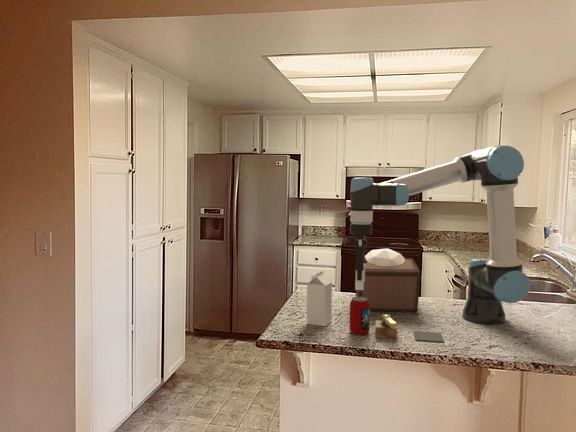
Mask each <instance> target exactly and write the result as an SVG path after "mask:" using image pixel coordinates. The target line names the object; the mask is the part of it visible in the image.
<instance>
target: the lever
mask: <svg viewBox="0 0 576 432" xmlns="http://www.w3.org/2000/svg"><path fill="white" fill-rule="evenodd" d="M381 321H382V322H384V323H386V324H387V325H388V326H389V327H390V328H396V324H397V321H395V320H394V319H392V318H391V314H387V313H386V314H385V313H383V314H381ZM394 321H395V322H394Z"/></svg>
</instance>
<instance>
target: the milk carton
mask: <svg viewBox="0 0 576 432" xmlns="http://www.w3.org/2000/svg"><path fill="white" fill-rule="evenodd" d="M310 279H311V280H310V281H309V282H307V284H306V285H307V286H306V325H312V326H318V327H319V326H320V327H326V326H328V325H329V324H330V323H332V311H333V310H332V306H333V304H332V300H333V298H332V297H333V295H332V293H333V290H332V288H333V282H332V280H330V278H329V277H327V275H325V273H324V270H320V271H319V272H317V273H315V274H314V275H312V276H311V277H310Z"/></svg>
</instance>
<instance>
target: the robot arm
mask: <svg viewBox="0 0 576 432" xmlns="http://www.w3.org/2000/svg"><path fill="white" fill-rule="evenodd" d="M524 166H525V161H524V157H523V155H522V154H521V152H520V151H519V150H518V149H517V148H515V147H514V146H511V145H500V144H499V145H496V146H495V145H494V146H490V147H482V148H478V149H476V150H474V151H472V152H470V153H466V154H464V155H461V156H459V157H455V158H454V159H453V161H451V162H450V161H449V162H446V163H445V164H441V165H437V166H434V167H430V168H427V169H424V170H420V171H417V172H414V173H410V174H407V175H403V176H400V177H397V178H394V179H390V180H387V181H383V182H380V183H379V182H377V183H374V179H373V177H354V178H352V179H351V181H350V191H349V192H350V202H349V203H350V204H349V205H350V208H349V210H350V212H349V213H348V214H347V215H348V216H349V217H350V219H349V220H350V222H351V223H350V224H349V234H350V235H352V236H356V238H357V239H354V249H355V250H354V252H355V253H356V254H355V266H354V267H353V271H355V278H354V279H355V281H354V282H355V283H354V286H355V287H354V290H355V291H356V290H364V282H365V264H364V263H367V260H365V255H366V250H367V245H368V242H367V241H368V240H367V239H366V236H372V234H373V224H372V223H373V220H374V219H373V218H374V217H373V215H374V214H373V213H374V206H375V207H377V206H379V207H380V206H385V207H400V206H401V207H402V206H405V205H407V203H408V202H409V197H410V196H412V195H417V194H420V193H423V192H426V191H430V190H434V189H437V188H441V187H443V186H444V187H445V186H448V185H450V184H453V183H454V184H455V183H458V182H459V183H461V184H464V183H467V182H470V181H471V182H473V181H480V186H481V188H482V189H484V190H485V191H486V192H485V193H486V206H487V207H486V208H487V209H486V210H487V225H488V227H487V228H488V243H489V245H488V246H489V257H490V258H479V259H478V258H473V259H470V261H469V262H468V283H467V284H468V285H467V291H468V292H467V299H466V300H465V303H464V305H463V309H462V318H464V319H465V320H467V321H469V322H473V323H478V324H486V325H498V324H499V325H500V324H504V323H505V322H506V312H505V310H504V307H503V303H502V302H504V303H507V304H515V303H518V302H521V301H522V300H523V299H525V297H526V296H527V295H528V294H529V291H530V289H531V288H530V287H531V282H530V279H529V277H528V276H527V274H525V272H524V271H523V262H522V261H521V260H520V259H519V258H518V252H517V251H518V250H517V234H516V216H515V214H516V213H515V195H514V190H515V188H516V187H517V185H519V176H521V173H522V172H523V170H524V168H525V167H524Z"/></svg>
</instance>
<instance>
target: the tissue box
mask: <svg viewBox="0 0 576 432" xmlns="http://www.w3.org/2000/svg"><path fill="white" fill-rule="evenodd" d="M365 260H367V263H364V264H365V282H364V290H355V297H366V298H368V301H369V303H370V312H404V313H405V312H406V313H407V312H408V313H409V312H410V313H411V312H413V313H417V312H418V307H419V299H420V298H419V297H420V285H421V271H420V269H419V267H418V265H417V264H416V262H415V261H414V259H413V258H410V257H409V258H407V257H404V256H403V255H402V254H401V253H400V252H398V251H395V250H393V249H390V248H379V249H378V248H377V249H372V250H370V251H369V252H368V253H367V254H365Z"/></svg>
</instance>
